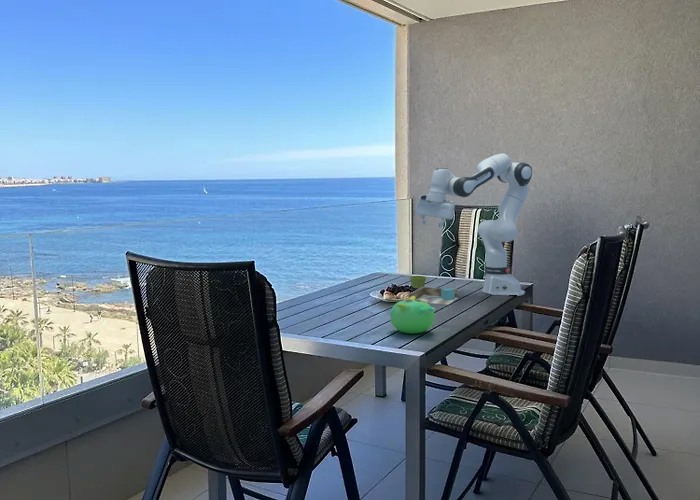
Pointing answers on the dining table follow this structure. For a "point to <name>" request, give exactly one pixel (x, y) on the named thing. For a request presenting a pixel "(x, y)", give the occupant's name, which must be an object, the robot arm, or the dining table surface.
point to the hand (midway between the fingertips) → (431, 225)
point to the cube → (448, 294)
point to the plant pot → (417, 281)
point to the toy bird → (412, 315)
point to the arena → (432, 295)
